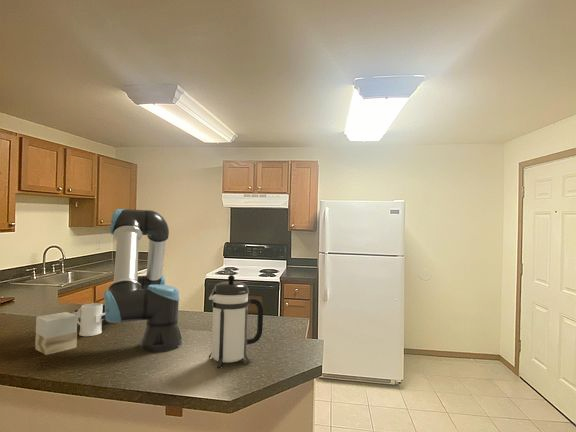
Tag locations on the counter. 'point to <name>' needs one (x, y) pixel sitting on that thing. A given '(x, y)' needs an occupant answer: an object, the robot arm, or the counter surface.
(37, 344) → the block
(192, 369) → the counter surface
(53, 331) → the tower top
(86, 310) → the mug
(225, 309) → the coffee press
